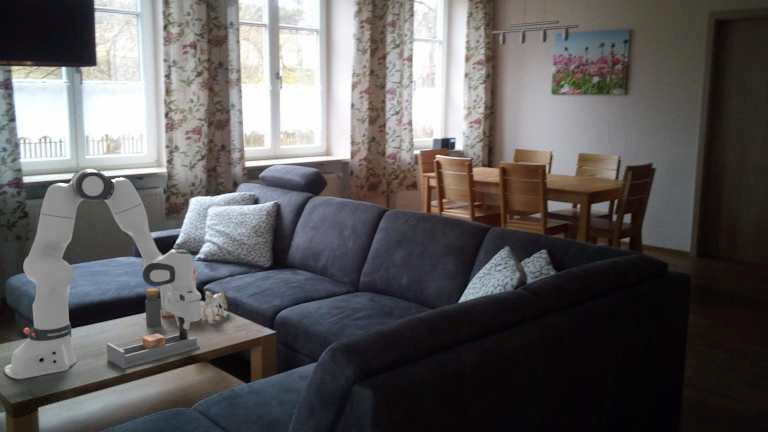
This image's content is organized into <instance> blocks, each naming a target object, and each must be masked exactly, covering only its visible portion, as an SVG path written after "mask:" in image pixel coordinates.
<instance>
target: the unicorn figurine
mask: <svg viewBox="0 0 768 432" xmlns="http://www.w3.org/2000/svg"><path fill="white" fill-rule="evenodd" d="M204 299H205V301H204V307H203V310H202V315H203V318H204V320H205V321H208V319H209V318H208V314H206V311H207V310H208V309H211V313H212V319H211V321H212V322H213V321H215V320H216V316H219V315H220V316H221V318H222V317H224V311H225V310H227V309H228V303H227V300H226V295H225V293H224V292H219V293H216V294H212V292H209V291H206V292H205V294H204ZM214 307H216V308H217V312H216V313H215V310H214V309H215V308H214ZM220 307H221V310H220ZM224 309H225V310H224Z"/></svg>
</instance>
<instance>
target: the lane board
mask: <svg viewBox="0 0 768 432" xmlns="http://www.w3.org/2000/svg"><path fill="white" fill-rule="evenodd" d="M164 337H165V343H166V342H170V341H174V340H178V339H179V333H178V334H174V335H169V336H164ZM200 346H201V345H199V344H198V338H197V337H196V336H194V337H190V338H188V339H186V340H182V341H178V342H174V343H170V344H166V345H163V346H159V347H155V348H151V349H147V350H143V342H142V343H137V344H134V345H130V346H125V347H122V348H120V347H118V346H116V345H114V344H112V343H110V342H108V343H106V355H107V361H110V362H111V363H113V364H115V365H116V366H118V367H119V368H122V369H126V368H129V367H130V368H131V367H133V366H138V365H141V364H142V365H143V364H144V363H148V362H153V361H155V360H159V359H164V358H167V357H171V356H175V355H178V354H182V353H185V352H189V351H192V350H197V349H200Z"/></svg>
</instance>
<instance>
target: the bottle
mask: <svg viewBox="0 0 768 432" xmlns="http://www.w3.org/2000/svg"><path fill="white" fill-rule="evenodd" d="M145 297H146V299H145V301H144V305H145V321H146V326H147V328H148V327H151V328H154V327H155V326H156V327H160V326H161V325H162V315H161V298H159V297H160V293H159V289H158V288H155V287H154V288H153V287H152V288H148V289H146V294H145ZM159 325H160V326H159Z"/></svg>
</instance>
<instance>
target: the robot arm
mask: <svg viewBox="0 0 768 432" xmlns="http://www.w3.org/2000/svg"><path fill="white" fill-rule="evenodd" d="M84 200H85V201H88V202H89V201H90V202H98V201H104V202H105V203H106V204H107V206H108V207H109V210H110V212H111V214H112V217H113V219H114V221H115V222H116V223H117V225H118V227H119V228H120V229H121V230H122V231H123V232H125V233H127V234H128V235H129V236H130V237H132V239H133V241H134V242H135V245H136V247H137V249H138V251H139V252H140V255H141V258H142V265H141V266H142V267H141V268H142V279H143V281H144V283H146V284H147V285H148V286H150V287H154V288H155V287H160V286H162V285H166V284H169V289H168V291H167V294H166V300H165V308H166V311H168V312H170V313H173V314H175V317H174V318H175V321H176V325H177V327H179V317H182V318H184V321H185V323H184V324H183V328H184V329H187V330H189V329H190V324H191V322H197V321H200V320H201V318H202V303H201V300H202V294H201V292H199V290H198V289H197V287H196V288H195V287H194V282H193V268H194V261H193V256H192V254H191V252H189V251H188V250H185V249H181V248H172V249H170V250H169V251H168V252H167V253H165V254H163V253H162V252H161V251H160V250H159V249H158V247H157V245H156V242H155V240H154V238H153V236H152V234H151V231H150V228H149V218H148V215H147V211H146V208H145V206H144V203H143V200H142V199H141V197H140V194H139V193H138V191H137V190H136V188H135V186H134V185H133V183H132V182H131V181H130V180H129V179H128V178H125V177H117V178H114V179H110V178H109V177H108V176H106V175H105V174H104V173H102V172H101V171H100V170H98V169H96V168H90V167H89V168H88V167H87V168H82V169H80V170H78V171H77V172H75V173H74V175H73V176H72V177H71V178H70V179H69V180H68V181H66V183H62V182H58V183H54V184H52V185H50V186H48V188H47V190H46V193H45V195H44V198H43V201H42V205H41V208H40V212H39V213H40V214H39V219H38V222H37V223H38V224H37V230H36V234H35V237H34V239H33V243H32V245H31V248H30V251H29V253H28V256H26V257H25V259H24V262H23V266H22V269H23V272H24V273H25V276H26V277H27V278H28V279H29V280H30V281H31V282H33V283H34V284H35V287H36V293H35V298H34V302H33V303H32V316H33V327H31V328H29V327H25V328H24V329H23V333H24V334H25V335H28V338H27V340H25V341H24V342H23V343H22V344H20V346H19V347H18V348H16V349H15V350H14V351H13V352H12V356H11V363H10V364H8V365H6V366H5V367H4V373H5V374H6V375H7V376H8V377H9V378H12V379H16V380H23V379H29V378H33V377H39V376H44V375H48V374H54V373H59V372H60V373H61V372H65V371H67V370H69V368H70V367H72V366H73V365H75V364H76V362H77V358H76V356H75V352H74V349H73V348H74V347H73V344H72V339H71V338H72V327H71V322H70V319H69V295H70V294H69V293H70V288H71V284H72V283H73V281H74V278H75V272H74V270H73V268H72V266H71V265H70V264H69V263H68V262H67V260H64V259H63V256H64V253H65V251H66V249H67V246H68V245H69V243H70V242H71V241H72V238H73V233H74V228H75V221H76V217H77V216H76V215H77V210H78V206H79V205H80V203H81V202H82V201H84Z"/></svg>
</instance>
